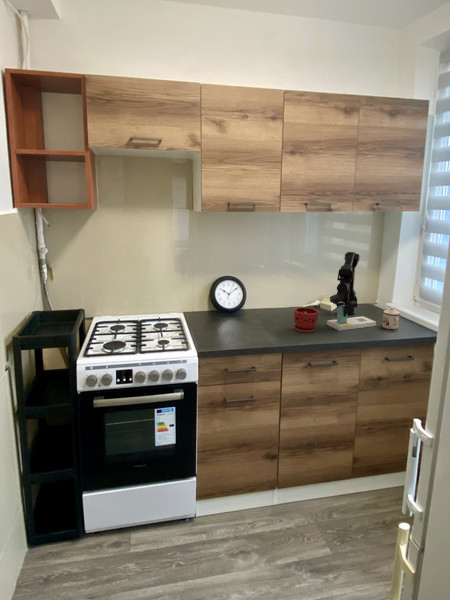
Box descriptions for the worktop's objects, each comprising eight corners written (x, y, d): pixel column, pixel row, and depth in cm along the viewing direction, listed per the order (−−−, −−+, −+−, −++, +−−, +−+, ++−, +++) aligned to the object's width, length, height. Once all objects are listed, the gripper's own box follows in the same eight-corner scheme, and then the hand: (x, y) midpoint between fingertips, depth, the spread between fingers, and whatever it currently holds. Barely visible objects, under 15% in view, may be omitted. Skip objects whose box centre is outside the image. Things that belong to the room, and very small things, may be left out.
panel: (326, 324, 248) (327, 320, 248) (362, 320, 258) (362, 316, 257) (339, 330, 238) (339, 326, 237) (375, 325, 247) (376, 321, 246)
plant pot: (298, 334, 230) (299, 313, 227) (290, 327, 243) (291, 307, 240) (320, 333, 233) (322, 312, 230) (311, 326, 245) (312, 306, 242)
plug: (336, 321, 246) (338, 305, 243) (342, 320, 247) (343, 304, 245) (341, 322, 242) (342, 306, 240) (346, 322, 243) (348, 306, 241)
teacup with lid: (378, 324, 249) (380, 306, 246) (393, 324, 250) (395, 305, 247) (389, 331, 237) (391, 311, 234) (404, 330, 238) (406, 311, 236)
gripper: (323, 287, 245) (321, 312, 249) (342, 294, 228) (340, 321, 232) (339, 285, 249) (337, 311, 253) (359, 292, 232) (357, 319, 236)
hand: (342, 315), depth 244 cm, fingers closed on plug, 4 cm apart
